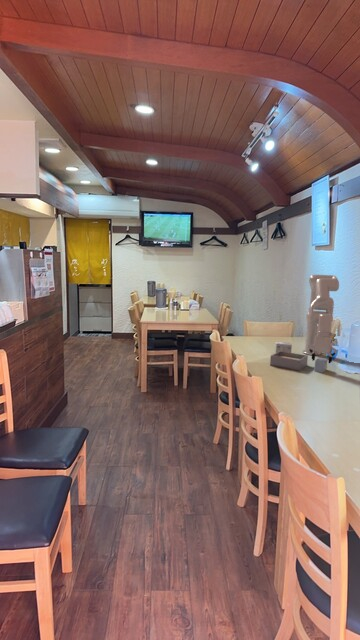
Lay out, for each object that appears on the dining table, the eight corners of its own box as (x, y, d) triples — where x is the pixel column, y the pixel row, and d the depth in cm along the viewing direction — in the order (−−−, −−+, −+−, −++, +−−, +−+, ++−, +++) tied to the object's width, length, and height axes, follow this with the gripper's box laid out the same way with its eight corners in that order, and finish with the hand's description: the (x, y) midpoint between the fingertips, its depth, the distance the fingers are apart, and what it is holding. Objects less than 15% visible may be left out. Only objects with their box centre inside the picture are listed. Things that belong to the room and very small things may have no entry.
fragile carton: (318, 368, 236) (319, 357, 235) (326, 369, 233) (327, 358, 232) (314, 371, 229) (315, 360, 228) (322, 372, 226) (323, 361, 225)
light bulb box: (289, 357, 262) (290, 342, 260) (291, 359, 255) (292, 344, 254) (273, 356, 263) (274, 341, 261) (275, 358, 256) (276, 343, 255)
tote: (279, 360, 253) (280, 350, 252) (307, 365, 242) (307, 355, 241) (270, 365, 239) (270, 355, 238) (298, 370, 229) (299, 360, 228)
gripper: (340, 335, 226) (337, 362, 228) (311, 331, 236) (309, 358, 238) (337, 336, 220) (334, 365, 222) (307, 333, 229) (305, 360, 232)
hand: (321, 361), depth 230 cm, fingers open, 9 cm apart
